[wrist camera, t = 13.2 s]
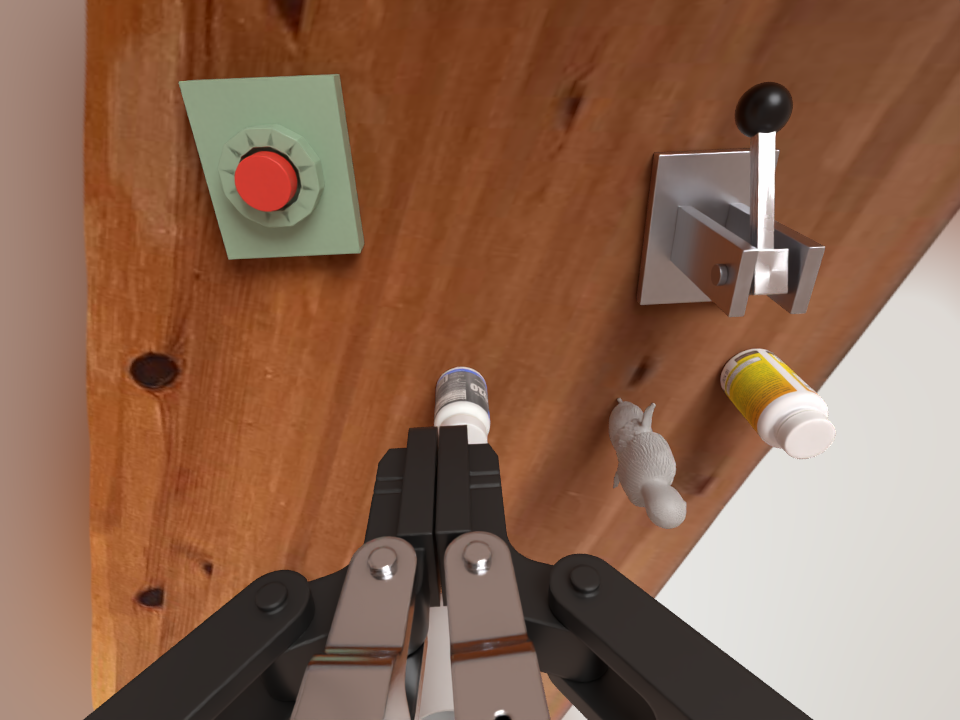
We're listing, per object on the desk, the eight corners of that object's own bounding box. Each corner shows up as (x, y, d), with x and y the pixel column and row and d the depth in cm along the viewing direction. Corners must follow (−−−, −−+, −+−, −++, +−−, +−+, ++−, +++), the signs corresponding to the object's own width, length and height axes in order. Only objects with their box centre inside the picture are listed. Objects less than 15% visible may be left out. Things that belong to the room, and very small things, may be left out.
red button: (237, 151, 35) (227, 156, 34) (291, 149, 35) (284, 154, 34) (250, 206, 37) (241, 213, 36) (302, 204, 37) (296, 210, 36)
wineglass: (437, 483, 56) (429, 692, 37) (499, 508, 58) (519, 718, 40) (404, 528, 59) (381, 742, 40) (463, 551, 61) (468, 763, 43)
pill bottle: (494, 397, 50) (501, 455, 43) (448, 414, 51) (448, 474, 44) (474, 357, 48) (478, 411, 41) (427, 376, 49) (422, 432, 42)
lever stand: (653, 152, 40) (722, 186, 30) (772, 147, 40) (880, 179, 30) (635, 299, 46) (687, 370, 36) (738, 294, 46) (820, 363, 36)
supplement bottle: (708, 393, 51) (762, 464, 42) (731, 342, 49) (793, 407, 40) (762, 399, 52) (826, 470, 43) (787, 349, 49) (861, 414, 40)
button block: (192, 80, 36) (164, 82, 33) (339, 74, 37) (327, 76, 33) (238, 250, 42) (219, 267, 39) (364, 244, 43) (356, 261, 39)
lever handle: (725, 94, 35) (751, 74, 32) (774, 92, 35) (805, 71, 32) (724, 295, 36) (749, 295, 33) (771, 293, 36) (800, 293, 33)
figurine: (620, 445, 54) (672, 569, 41) (583, 439, 54) (624, 563, 41) (655, 367, 50) (727, 478, 37) (615, 359, 49) (674, 470, 36)
